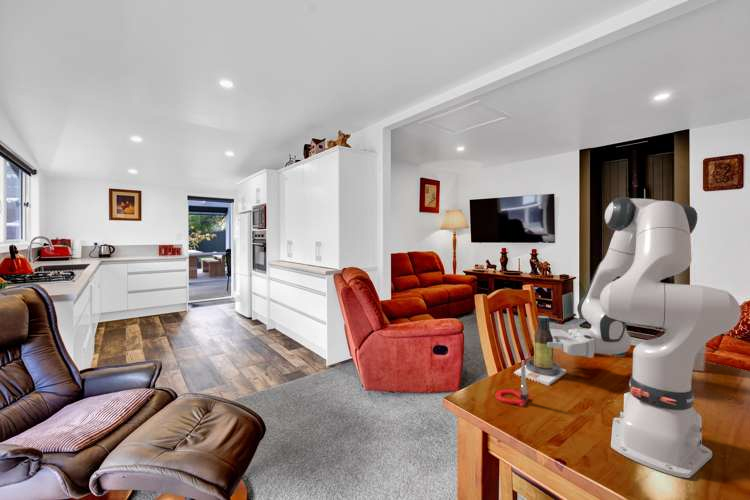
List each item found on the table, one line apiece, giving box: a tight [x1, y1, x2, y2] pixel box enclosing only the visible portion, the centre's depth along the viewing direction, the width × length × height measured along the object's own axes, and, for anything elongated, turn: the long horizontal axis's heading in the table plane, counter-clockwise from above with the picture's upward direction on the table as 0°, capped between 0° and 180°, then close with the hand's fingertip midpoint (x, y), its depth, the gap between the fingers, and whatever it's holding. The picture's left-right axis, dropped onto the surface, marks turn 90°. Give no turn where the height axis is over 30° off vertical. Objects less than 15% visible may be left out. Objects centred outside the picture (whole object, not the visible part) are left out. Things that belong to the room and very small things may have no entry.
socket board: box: [513, 358, 567, 386], centre depth 121 cm, size 16×12×3 cm
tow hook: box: [495, 359, 531, 407], centre depth 103 cm, size 8×13×9 cm
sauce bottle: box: [533, 315, 554, 369], centre depth 122 cm, size 6×6×20 cm
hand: (541, 340), depth 122 cm, fingers open, 8 cm apart
